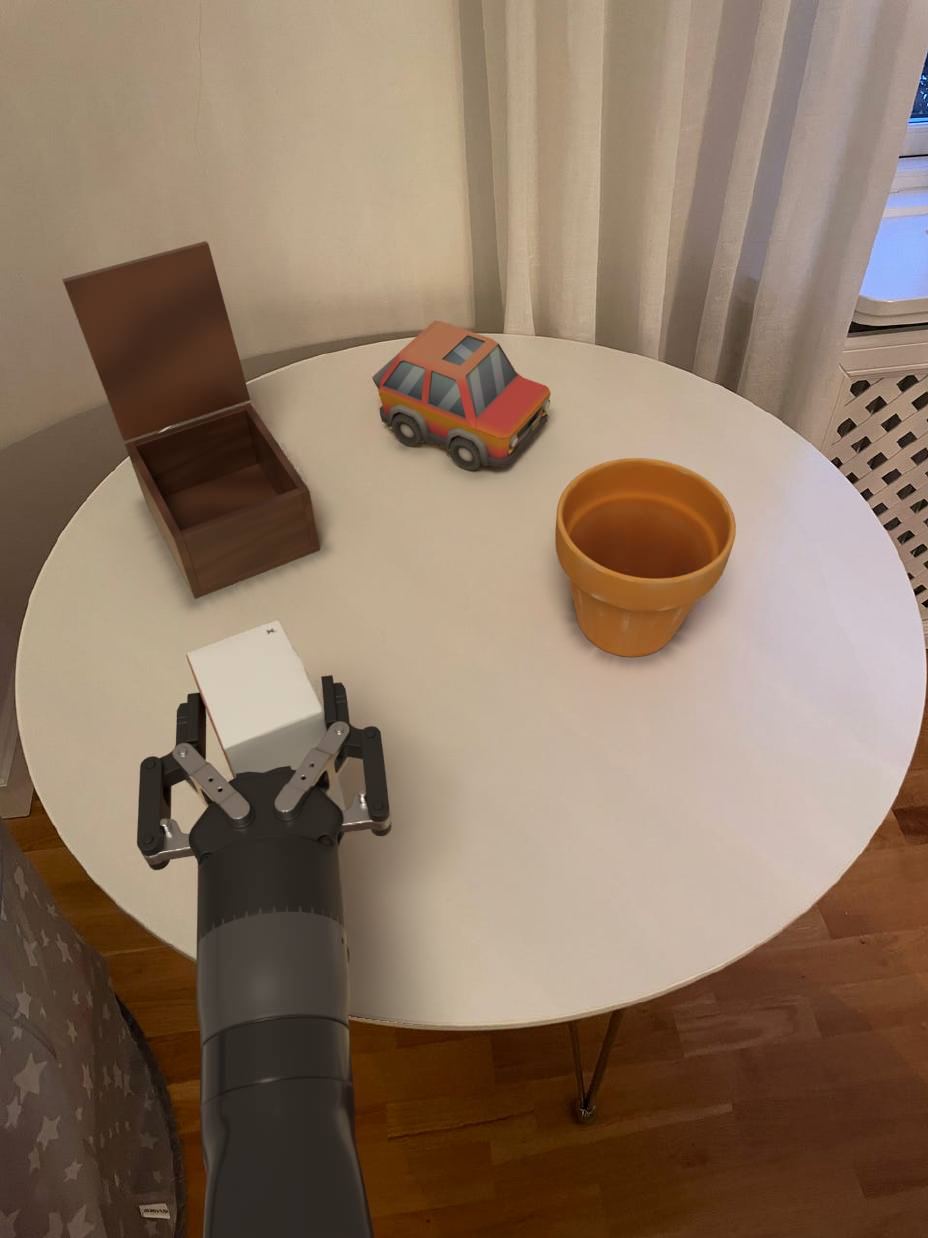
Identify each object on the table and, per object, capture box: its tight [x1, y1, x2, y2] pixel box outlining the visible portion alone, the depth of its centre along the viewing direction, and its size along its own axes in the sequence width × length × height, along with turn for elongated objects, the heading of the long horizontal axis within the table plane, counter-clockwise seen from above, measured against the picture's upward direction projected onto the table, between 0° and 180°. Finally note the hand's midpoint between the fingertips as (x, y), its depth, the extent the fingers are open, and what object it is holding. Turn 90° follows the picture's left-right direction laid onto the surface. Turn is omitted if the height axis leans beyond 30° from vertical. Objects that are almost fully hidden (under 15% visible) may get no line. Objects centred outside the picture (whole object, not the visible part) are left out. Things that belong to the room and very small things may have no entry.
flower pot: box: [554, 457, 737, 658], centre depth 79 cm, size 14×14×13 cm
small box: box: [185, 619, 347, 811], centre depth 61 cm, size 8×6×13 cm
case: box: [124, 402, 321, 599], centre depth 89 cm, size 15×13×8 cm
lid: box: [61, 240, 251, 442], centre depth 85 cm, size 15×13×1 cm
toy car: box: [371, 320, 552, 471], centre depth 98 cm, size 12×17×10 cm
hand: (262, 691), depth 58 cm, fingers closed on small box, 7 cm apart
